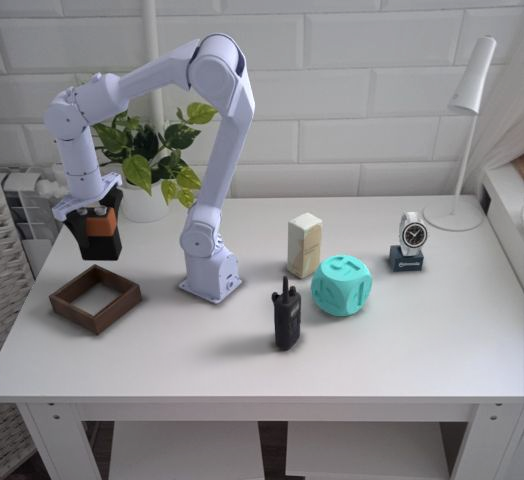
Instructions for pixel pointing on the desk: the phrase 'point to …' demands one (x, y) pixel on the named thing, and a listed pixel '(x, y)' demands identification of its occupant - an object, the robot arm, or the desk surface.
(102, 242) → the battery
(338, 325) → the desk surface
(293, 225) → the box
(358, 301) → the decorative dice
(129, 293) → the brown square open frame
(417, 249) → the watch
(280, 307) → the two-way radio
